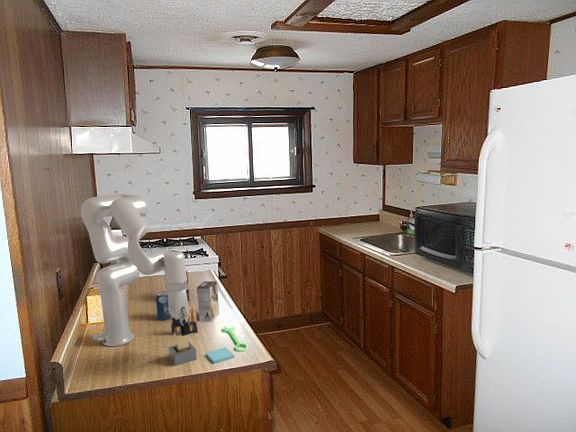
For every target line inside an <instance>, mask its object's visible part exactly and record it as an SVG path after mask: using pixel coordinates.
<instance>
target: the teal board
mask: <svg viewBox="0 0 576 432" xmlns="http://www.w3.org/2000/svg"><path fill="white" fill-rule="evenodd" d="M205 356H206V357H207V358H208V359H209V360H210V362H212V363H213V364H218V363H221V362H225V361H227V360H231V359H235V355H234V353H232V351H231V350H229V349H228V348H227V347H226V346H224V347H221V348H218V349H214V350H212V351H211V350H210V351H208V352H205Z"/></svg>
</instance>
